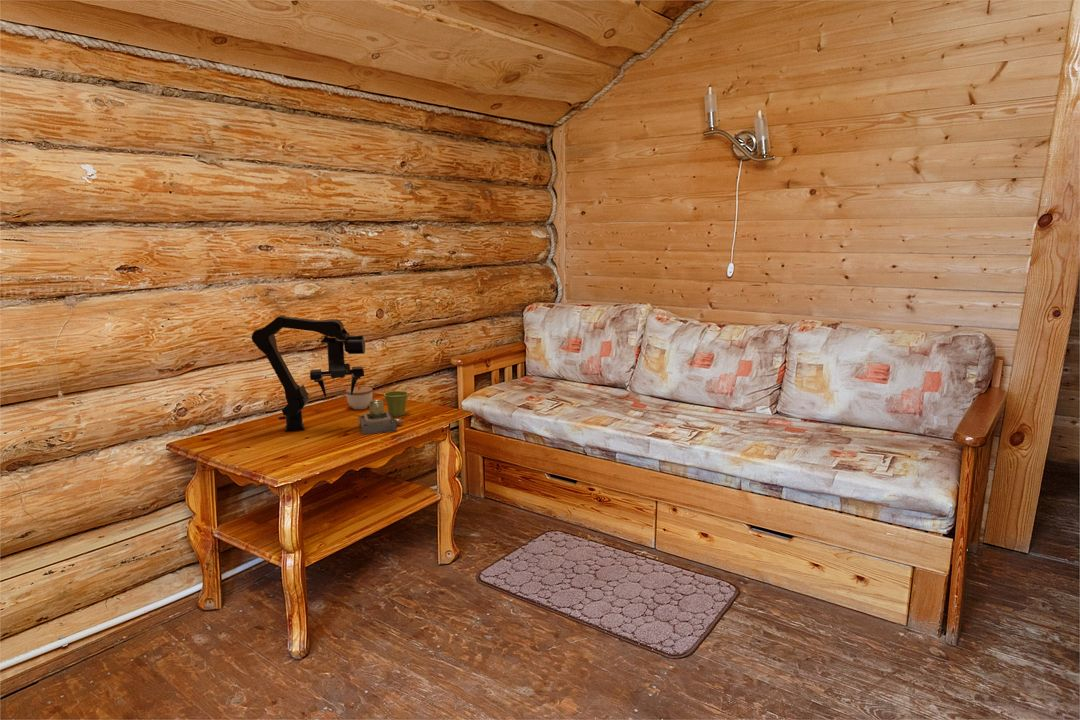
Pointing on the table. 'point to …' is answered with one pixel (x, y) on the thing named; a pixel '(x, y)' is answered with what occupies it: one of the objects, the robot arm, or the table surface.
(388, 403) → the plant pot
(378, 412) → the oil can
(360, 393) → the lidded jar
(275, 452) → the table surface
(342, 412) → the table surface
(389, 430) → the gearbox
